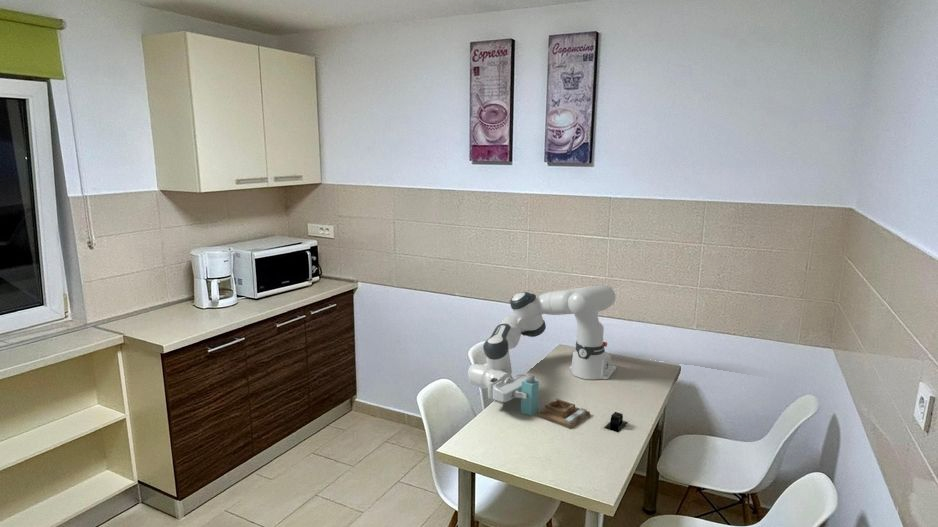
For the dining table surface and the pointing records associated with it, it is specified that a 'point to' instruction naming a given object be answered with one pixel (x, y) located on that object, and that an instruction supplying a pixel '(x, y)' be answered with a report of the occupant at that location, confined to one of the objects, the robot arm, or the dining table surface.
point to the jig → (563, 413)
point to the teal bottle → (530, 395)
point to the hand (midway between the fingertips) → (531, 393)
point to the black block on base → (616, 422)
